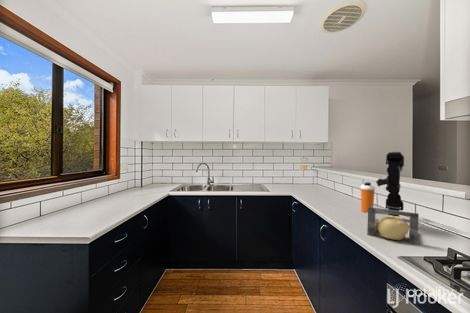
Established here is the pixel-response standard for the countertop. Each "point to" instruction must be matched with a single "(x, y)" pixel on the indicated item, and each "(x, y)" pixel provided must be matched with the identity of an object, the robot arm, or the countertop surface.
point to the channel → (413, 216)
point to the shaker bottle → (367, 196)
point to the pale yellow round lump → (393, 227)
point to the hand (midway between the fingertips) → (392, 201)
